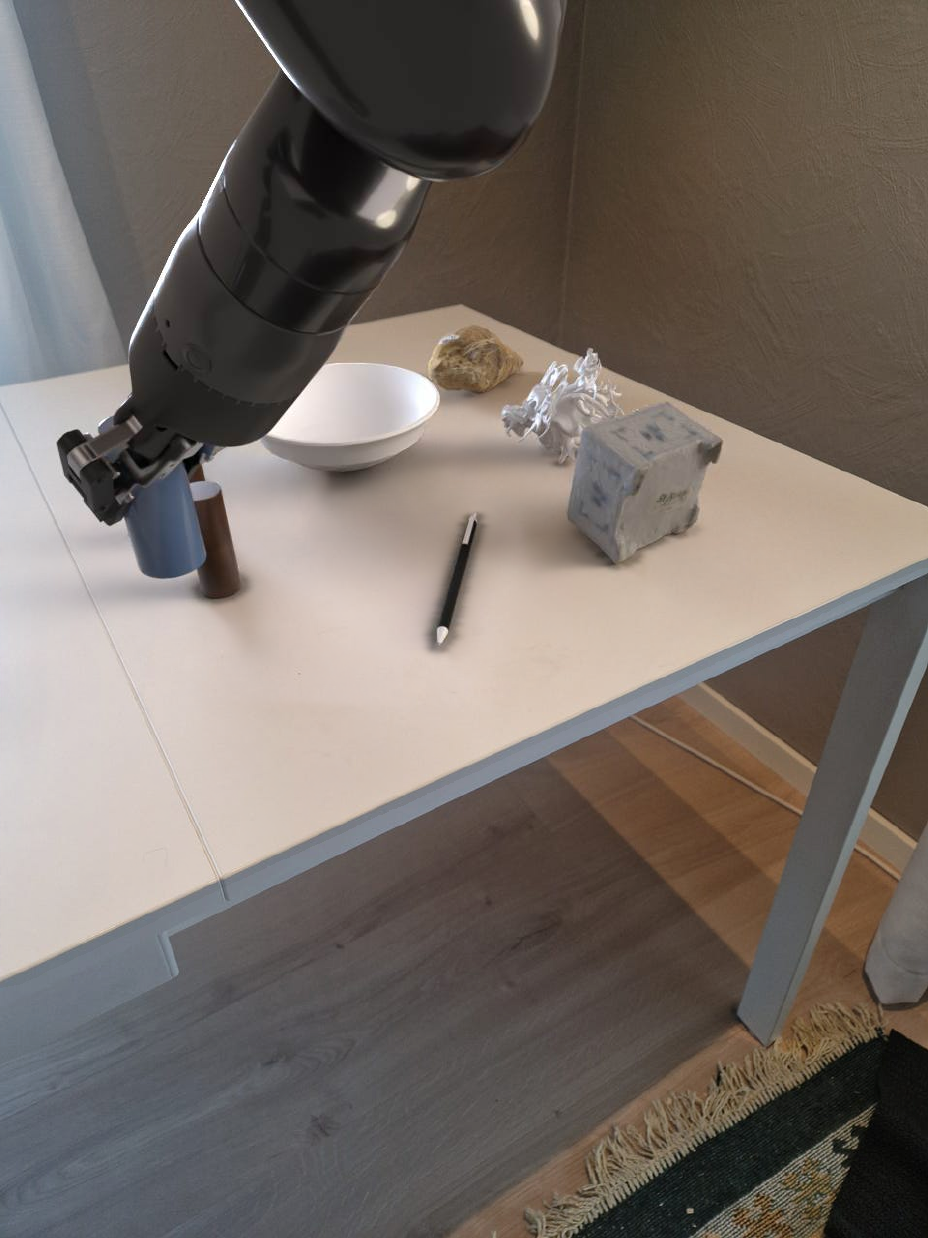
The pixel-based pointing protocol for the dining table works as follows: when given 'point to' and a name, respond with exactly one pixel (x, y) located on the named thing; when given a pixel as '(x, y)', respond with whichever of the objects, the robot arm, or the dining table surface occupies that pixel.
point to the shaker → (164, 525)
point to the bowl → (354, 417)
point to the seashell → (472, 360)
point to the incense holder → (640, 478)
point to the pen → (456, 580)
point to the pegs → (214, 539)
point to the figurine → (563, 407)
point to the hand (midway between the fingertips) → (135, 493)
